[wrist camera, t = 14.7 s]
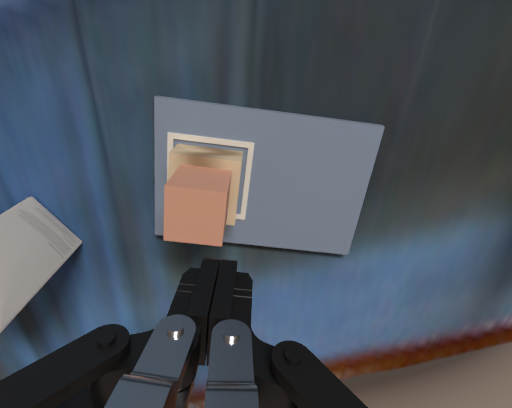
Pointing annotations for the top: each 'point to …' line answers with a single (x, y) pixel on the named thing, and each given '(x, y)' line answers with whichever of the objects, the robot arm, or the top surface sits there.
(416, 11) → the top surface
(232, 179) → the beech base block
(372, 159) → the board
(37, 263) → the skincare box
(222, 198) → the terracotta block
